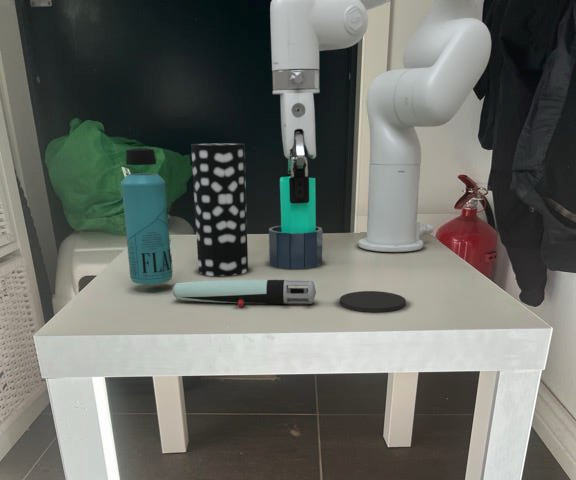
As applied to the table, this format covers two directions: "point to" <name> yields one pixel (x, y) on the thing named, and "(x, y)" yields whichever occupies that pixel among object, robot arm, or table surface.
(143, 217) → the beverage bottle
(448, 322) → the table surface
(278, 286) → the flashlight
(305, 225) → the candle
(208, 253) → the spotted tube
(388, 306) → the coaster
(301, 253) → the holder
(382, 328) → the table surface
